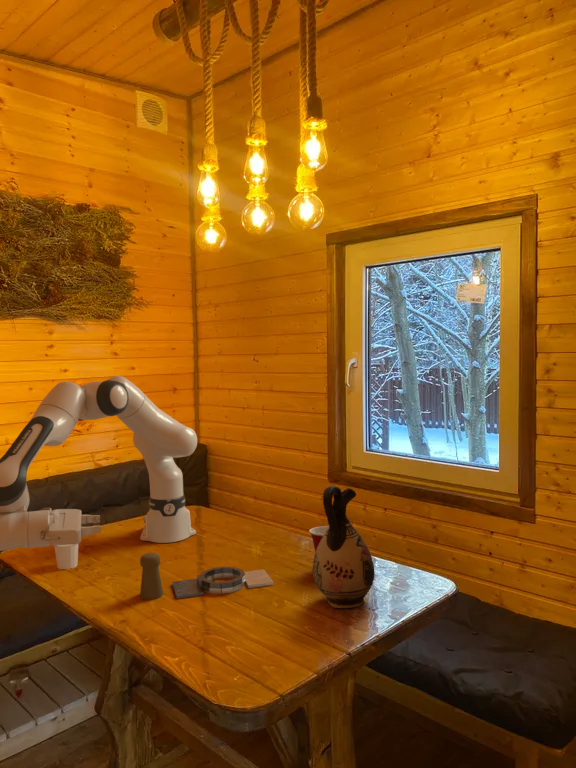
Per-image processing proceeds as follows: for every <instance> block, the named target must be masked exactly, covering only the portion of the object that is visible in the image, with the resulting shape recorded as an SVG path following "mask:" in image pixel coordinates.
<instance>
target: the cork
mask: <svg viewBox="0 0 576 768" xmlns="http://www.w3.org/2000/svg"><path fill="white" fill-rule="evenodd" d="M139 561H140V562H139V564H140V566H141V568H142V570H141V580H140V581H141V582H140V593H139V594H140V595H139V598H140V599H141V600H145V601H147V600H148V601H152V599H153V600H157V599H159V598H161V597H163V596H162V595H164V591H163V585H162V578H161V573H160V567H159V566H160V564H161V556H160V555H159V554H158V553H156V552H148V553H144V554H142V555H141V556H140V560H139Z"/></svg>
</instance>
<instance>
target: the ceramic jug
mask: <svg viewBox="0 0 576 768" xmlns="http://www.w3.org/2000/svg"><path fill="white" fill-rule="evenodd" d="M356 496H357V493H356V491H355V490H353V488H349V487H348V488H347V487H346V489H344V490H343V491H342V489H341V488H340V487H338V486H335V485H330V486H328V487H326V488H325V489H324V491H323V495H322V504H323V509H324V513H325V515H326V519H327V524H328V526H329V528H328V529H327V531H326V532H325V534H324V536H323V538H322V539H321V541H320V543H319V545H318V547H317V550H316V553H315V552H314V553H315V554H314V555H313V562H312V577H313V581H314V583H315V586H316V588H317V589H318V590H319V591H320V593H322V595H323V596H324V597H325V599H326V601H327V603H328V605H329V606H330V607H332V608H334V609H349V608H350V609H351V608H352V609H353V608H359V607H360V606H362V605H363V604H365V602H366V601H365V597H366V596H367V594H368V593H369V592H370V589H371V588H372V586H373V583H374V580H375V573H376V572H375V571H376V570H375V565H374V561H373V558H372V553H371V552H370V550H369V547H368V546H367V544H366V542H365V541H364V539H363V538H362V536H361V535H360V534H359V532H358V530H357V529H356V528H355V527H354V526H353V525H352V523H351V521H350V520H349V518H348V516H347V506H348V504H349V503H350V502H351V501H352V500H353V499H354V498H355V497H356Z"/></svg>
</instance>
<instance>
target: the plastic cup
mask: <svg viewBox="0 0 576 768" xmlns="http://www.w3.org/2000/svg"><path fill="white" fill-rule="evenodd" d="M328 528H329V525H324V526H323V525H322V526H316V527H312V528H310V529H309V531H308V532H309V533H310V535H311V538H312V543H313V547H314V553H316V550H317V547H318V545H319V543H320V541H321V539H322V538H323V536H324V534H325V532H326V531H327V529H328Z"/></svg>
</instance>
